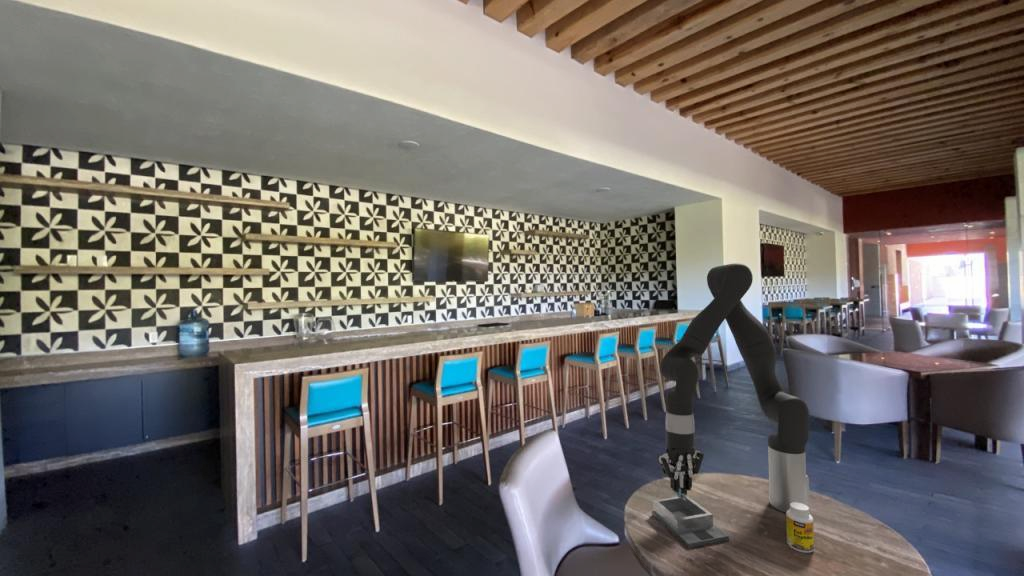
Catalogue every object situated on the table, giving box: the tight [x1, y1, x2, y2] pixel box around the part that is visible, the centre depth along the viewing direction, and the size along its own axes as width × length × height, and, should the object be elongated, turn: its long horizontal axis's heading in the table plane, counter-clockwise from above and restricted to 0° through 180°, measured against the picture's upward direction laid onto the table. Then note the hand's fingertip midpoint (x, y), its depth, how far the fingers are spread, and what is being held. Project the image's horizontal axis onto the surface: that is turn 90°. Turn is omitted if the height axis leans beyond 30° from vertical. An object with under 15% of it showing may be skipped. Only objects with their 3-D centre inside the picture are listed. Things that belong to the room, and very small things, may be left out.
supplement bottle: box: [785, 502, 815, 554], centre depth 102 cm, size 6×6×10 cm
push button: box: [668, 460, 688, 500], centre depth 114 cm, size 7×5×10 cm
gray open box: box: [651, 494, 730, 550], centre depth 112 cm, size 12×16×4 cm
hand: (681, 489), depth 114 cm, fingers closed on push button, 3 cm apart
